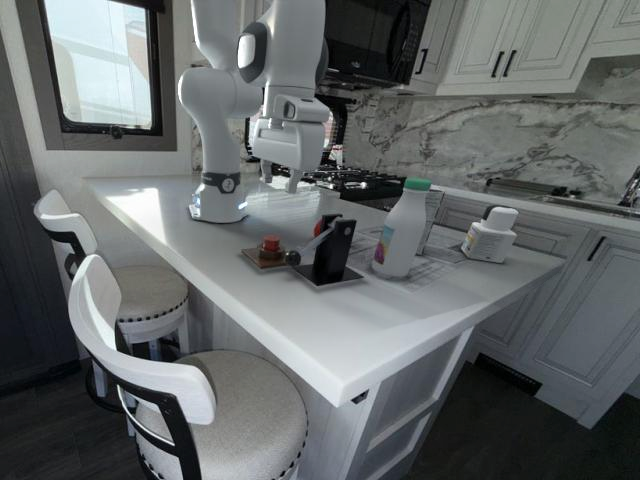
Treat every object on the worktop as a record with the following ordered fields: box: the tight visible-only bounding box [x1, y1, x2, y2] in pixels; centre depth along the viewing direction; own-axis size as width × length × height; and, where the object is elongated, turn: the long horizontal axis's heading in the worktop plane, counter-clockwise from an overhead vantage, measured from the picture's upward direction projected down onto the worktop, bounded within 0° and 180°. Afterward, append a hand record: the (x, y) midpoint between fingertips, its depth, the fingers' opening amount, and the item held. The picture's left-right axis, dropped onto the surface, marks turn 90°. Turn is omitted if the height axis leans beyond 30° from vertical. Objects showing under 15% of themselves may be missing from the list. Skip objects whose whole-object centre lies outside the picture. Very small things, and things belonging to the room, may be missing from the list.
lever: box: [285, 216, 346, 268], centre depth 60 cm, size 14×3×3 cm
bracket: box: [291, 213, 365, 287], centre depth 62 cm, size 12×9×13 cm
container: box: [460, 204, 520, 264], centre depth 78 cm, size 8×8×13 cm
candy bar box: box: [415, 183, 446, 256], centre depth 80 cm, size 11×5×16 cm, turn 168°
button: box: [262, 234, 281, 251], centre depth 69 cm, size 4×4×2 cm
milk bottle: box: [370, 177, 433, 278], centre depth 64 cm, size 8×8×20 cm
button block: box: [241, 242, 288, 270], centre depth 70 cm, size 10×10×4 cm
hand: (277, 187), depth 63 cm, fingers open, 8 cm apart
